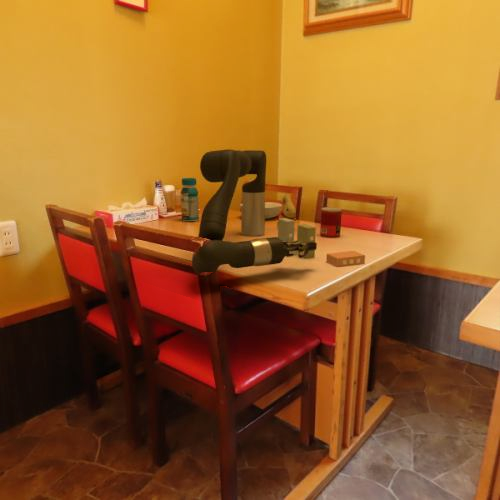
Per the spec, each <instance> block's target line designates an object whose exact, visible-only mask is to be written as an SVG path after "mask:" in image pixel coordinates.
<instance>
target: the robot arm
mask: <svg viewBox="0 0 500 500" xmlns="http://www.w3.org/2000/svg"><path fill="white" fill-rule="evenodd" d="M199 166H200V168H199V169H200V173H201V175H202V177H203V179H205V181H207V182H209V183H221V185H220V186H219V188H218V190H216V192H215V193H214V194H213V196H211V198H210V199H209V200H208V201H207V202H206V204H205V205H204V207H203V210H202V214H201V218H200V224H199V230H198V231H199V232H198V236H197V238H198V237H202V238H207V239H210V240H211V241H210V242H209V243H207V244H205V245H204V246H203V247H200V248H199V249H198V251H197V253H196V255H194V252H193V254H192V258H191V265H192V269H193V271H194V272H195V273H196V274H197V275H199V273H202V272H214V271H215V272H216V271H217V270H218V269H219V268H220V266H223V265H229V267H230V268H234V269H241V268H242V269H243V268H249V267H263V266H271V265H278V264H281V263H282V262H283V261H284V259H285V257H286V258H292V257H294V256H298V258H299V259H302V258H304V256H306V255H307V254H308V251H311V250H315V251H316V250H317V247H318V246H317V245H318V243H317V242H316V241H315V242H305V243H303V242H298V241H297V240H294V241H285V240H281V239H280V238H278V236H272V237H262V238H255V239H254V238H253V239H251V240H242V241H236V242H234V241H229V240H224V238H225V235H226V231H227V222H228V216H229V210H230V206H231V205H232V204H231V203H232V201H233V197H234V194H235V193H236V188H237V185H238V182H239V179H240V178H243V177H245V176H247V175H256V178H254V179H253V180H251V181H249V182H246V183H243V184H242V186H241V192H242V194H241V199H242V200H241V202H242V203H241V204H242V211H241V215H240V216H241V225H240V226H241V228H240V229H241V235H243V236H249V237H258V236H264V235H265V233H266V232H265V231H266V226H265V225H266V223H265V222H266V219H265V202H266V177H267V175H266V174H267V154H266V152H265V151H264V150H258V149H257V150H254V149H253V150H251V149H250V150H235V149H231V148H230V149H229V148H228V149H220V150H210V151H207V152H205V153H204V154H203V155H202V157H201V159H200V163H199ZM215 272H214V273H215Z"/></svg>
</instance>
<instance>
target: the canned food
mask: <svg viewBox="0 0 500 500" xmlns="http://www.w3.org/2000/svg"><path fill="white" fill-rule="evenodd" d="M342 213H343V211H342V208H339V207H333V206H332V207H321V211H320V228H319V229H320V232H319V234H320V237H323V238H330V239H334V238H335V239H336V238H339V237H341V228H342V227H341V226H342Z"/></svg>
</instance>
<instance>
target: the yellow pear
mask: <svg viewBox="0 0 500 500" xmlns="http://www.w3.org/2000/svg"><path fill="white" fill-rule="evenodd" d="M281 200H282V209H281V212H280V213H279V214H280V215H279V216H278V219H282V218H287V219H290V220H293V221H295V222H296V221H297V218H296V217H297V211H296V207H295V206H294V204H293V202H292V200H291V197H290V195H289V194H288V193H287V194H285V195H284V196H283V197H282V199H281ZM276 226H277V227H278V222H277V224H276Z"/></svg>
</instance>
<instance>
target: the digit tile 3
mask: <svg viewBox="0 0 500 500" xmlns="http://www.w3.org/2000/svg"><path fill="white" fill-rule="evenodd" d="M365 261H366V255H365V254H364V253H361V252H358V251H356V250H349V251H341V252H340V251H338V252H331V253H326V261H325V262H326V263H328V264H329V265H333V267H334V266H335V267H336V268H340V267H348V266H356V265H364V264H366V262H365Z"/></svg>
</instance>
